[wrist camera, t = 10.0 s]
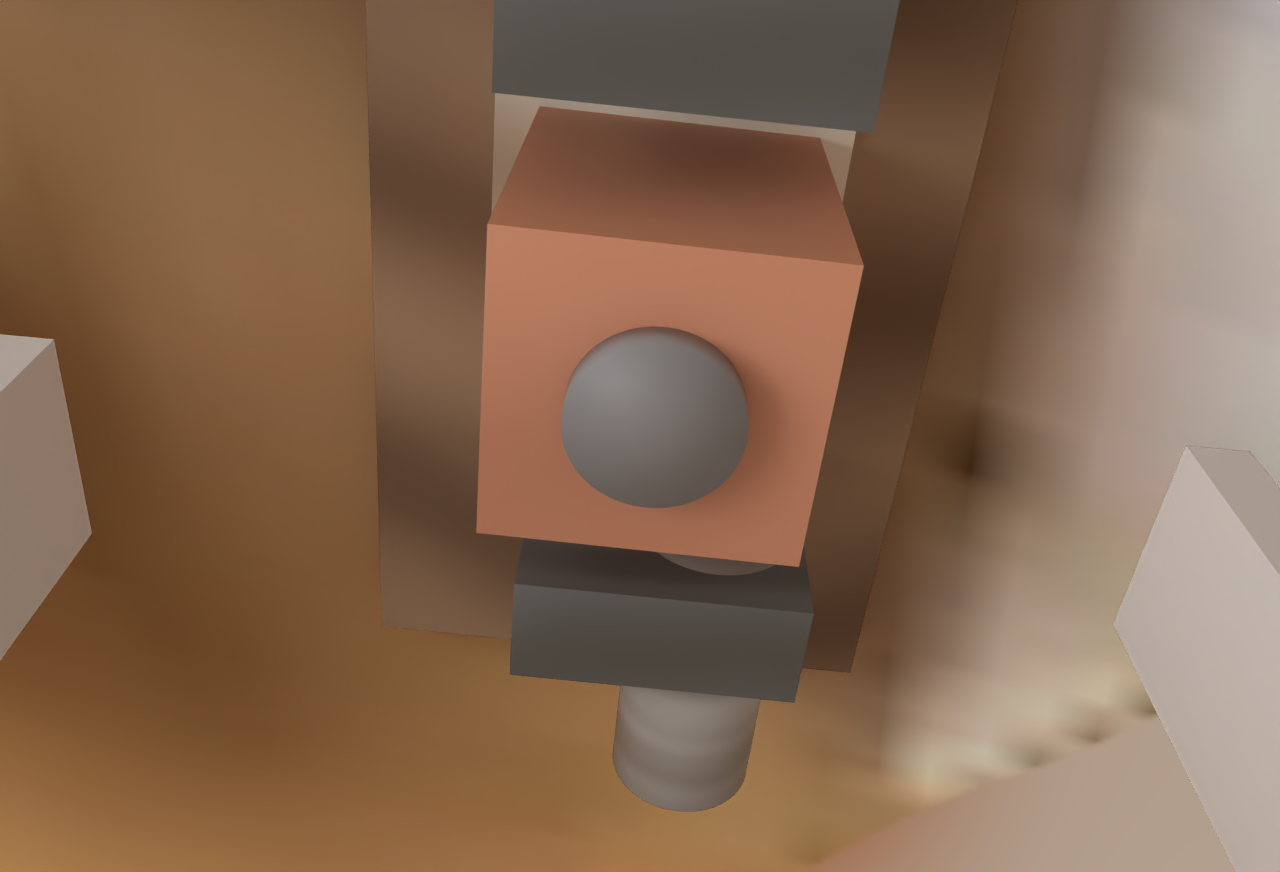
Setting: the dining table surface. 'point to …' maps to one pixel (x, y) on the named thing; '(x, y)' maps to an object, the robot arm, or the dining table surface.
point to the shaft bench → (454, 323)
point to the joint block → (662, 336)
